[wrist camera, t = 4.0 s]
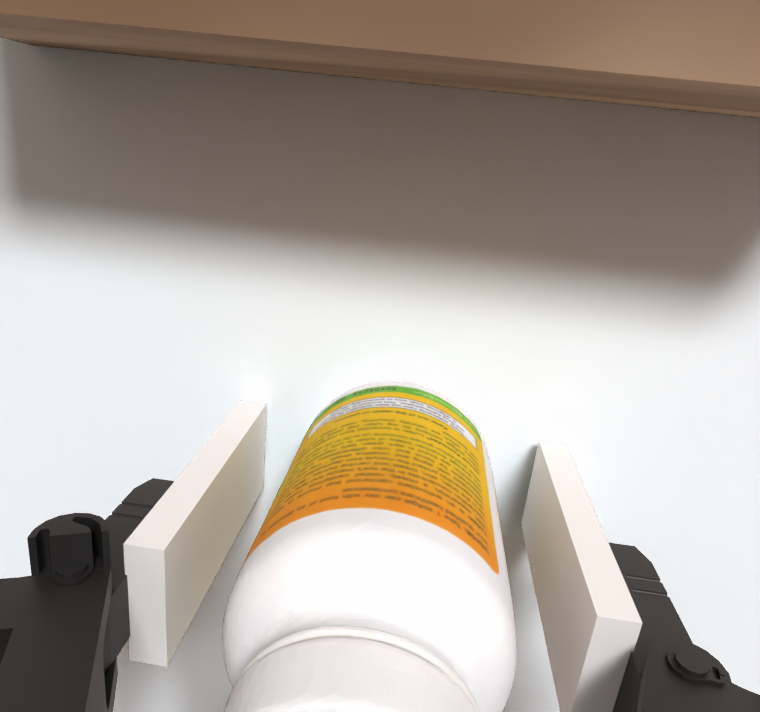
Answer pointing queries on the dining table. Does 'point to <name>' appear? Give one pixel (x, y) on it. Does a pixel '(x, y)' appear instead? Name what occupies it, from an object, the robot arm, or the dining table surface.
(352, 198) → the dining table surface
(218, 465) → the robot arm
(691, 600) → the dining table surface
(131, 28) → the walnut trough
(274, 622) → the supplement bottle
